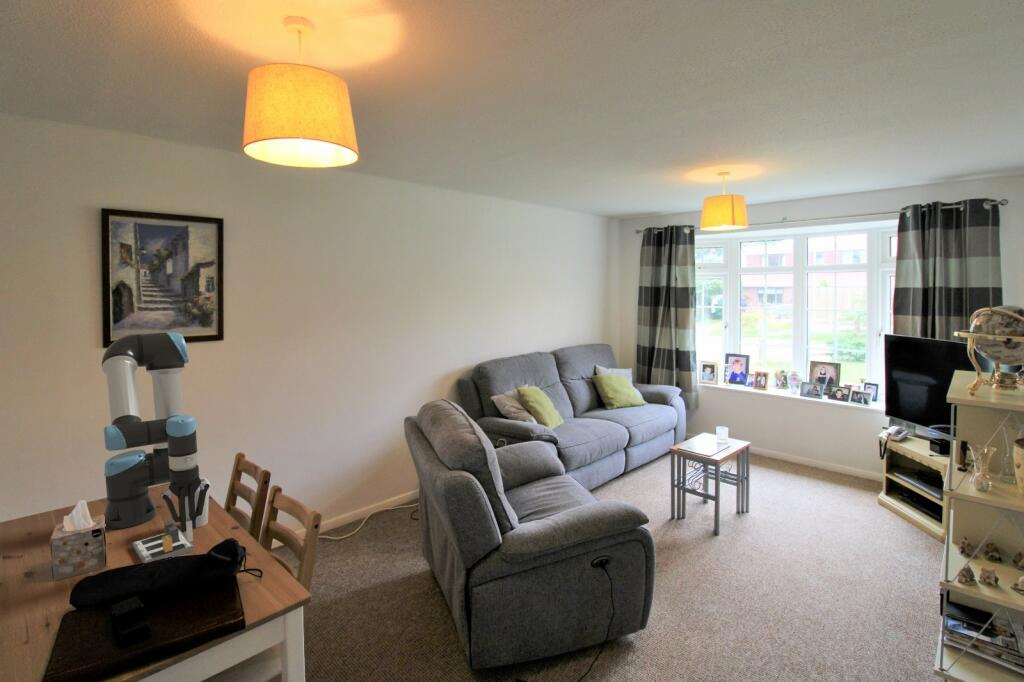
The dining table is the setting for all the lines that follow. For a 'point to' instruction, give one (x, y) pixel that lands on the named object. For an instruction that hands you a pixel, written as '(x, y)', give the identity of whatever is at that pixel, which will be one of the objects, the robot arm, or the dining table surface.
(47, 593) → the dining table surface
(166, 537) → the toggle
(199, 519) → the coffee cup
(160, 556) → the panel
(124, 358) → the robot arm
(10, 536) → the dining table surface
